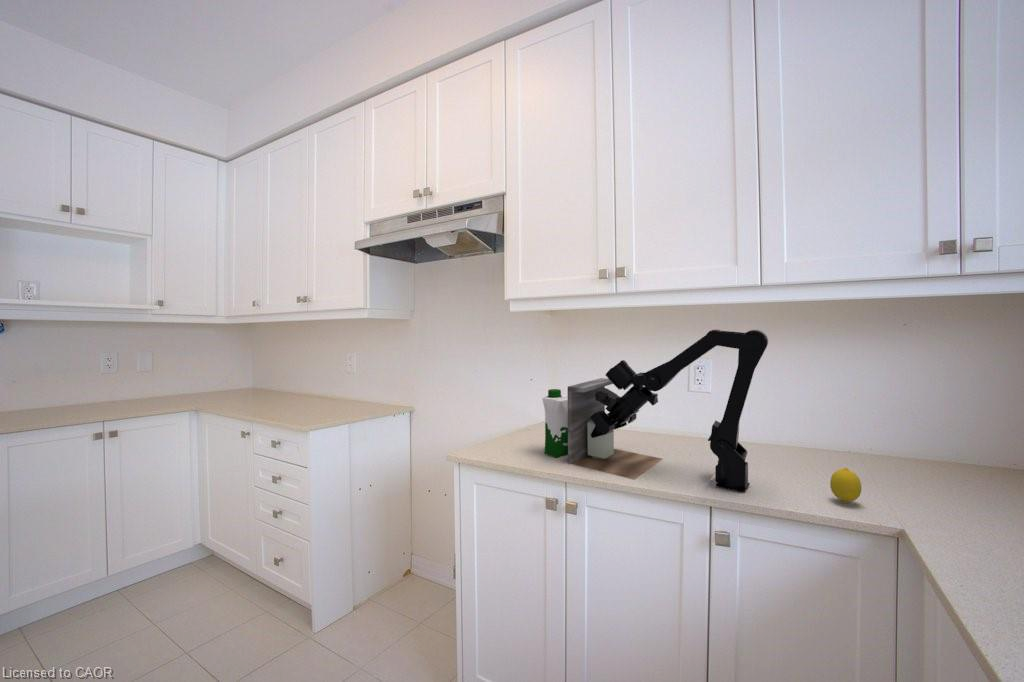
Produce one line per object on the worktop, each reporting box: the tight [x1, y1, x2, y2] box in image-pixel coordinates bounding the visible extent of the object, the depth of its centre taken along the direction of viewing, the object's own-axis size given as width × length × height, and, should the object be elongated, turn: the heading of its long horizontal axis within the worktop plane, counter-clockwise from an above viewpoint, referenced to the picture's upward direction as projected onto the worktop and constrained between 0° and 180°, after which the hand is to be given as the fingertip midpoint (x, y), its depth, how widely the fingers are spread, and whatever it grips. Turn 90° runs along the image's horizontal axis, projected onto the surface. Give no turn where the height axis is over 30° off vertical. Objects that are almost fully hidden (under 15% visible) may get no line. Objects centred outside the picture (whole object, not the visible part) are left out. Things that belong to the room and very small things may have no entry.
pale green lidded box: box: [587, 420, 615, 459], centre depth 126 cm, size 6×6×10 cm
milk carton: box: [542, 388, 568, 459], centre depth 132 cm, size 9×9×20 cm
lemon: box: [829, 467, 862, 504], centre depth 95 cm, size 6×6×8 cm
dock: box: [567, 377, 663, 480], centre depth 122 cm, size 20×20×23 cm
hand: (596, 434), depth 127 cm, fingers closed on pale green lidded box, 5 cm apart
